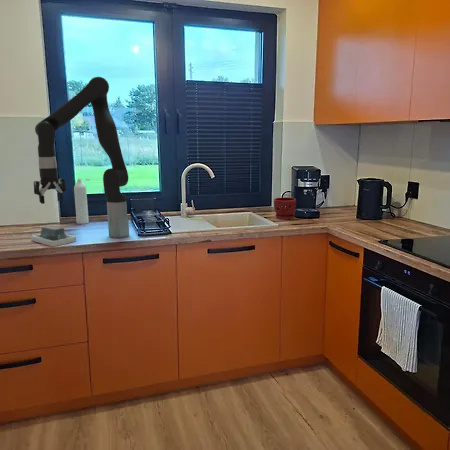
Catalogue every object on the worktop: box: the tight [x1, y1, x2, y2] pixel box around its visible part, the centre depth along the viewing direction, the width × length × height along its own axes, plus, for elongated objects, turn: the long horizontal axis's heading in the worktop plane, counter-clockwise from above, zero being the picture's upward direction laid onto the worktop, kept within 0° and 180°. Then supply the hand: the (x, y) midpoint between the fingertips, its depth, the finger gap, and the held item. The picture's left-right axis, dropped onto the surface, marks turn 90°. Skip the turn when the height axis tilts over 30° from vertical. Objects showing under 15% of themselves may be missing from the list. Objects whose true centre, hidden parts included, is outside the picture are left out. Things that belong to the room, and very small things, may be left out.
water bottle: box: [73, 177, 91, 225], centre depth 232 cm, size 9×6×25 cm
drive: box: [41, 225, 66, 241], centre depth 194 cm, size 10×5×5 cm, turn 57°
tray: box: [30, 229, 77, 247], centre depth 195 cm, size 18×12×4 cm, turn 52°
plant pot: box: [273, 196, 297, 221], centre depth 247 cm, size 13×13×12 cm
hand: (51, 202), depth 191 cm, fingers open, 8 cm apart
